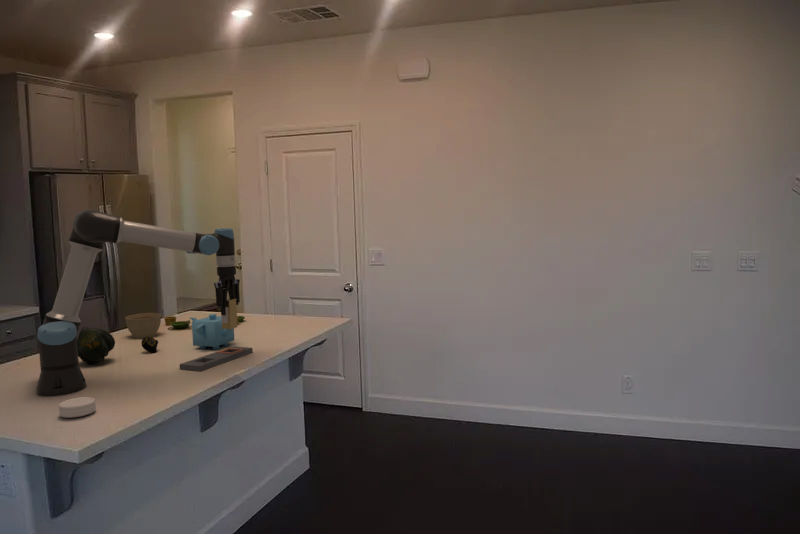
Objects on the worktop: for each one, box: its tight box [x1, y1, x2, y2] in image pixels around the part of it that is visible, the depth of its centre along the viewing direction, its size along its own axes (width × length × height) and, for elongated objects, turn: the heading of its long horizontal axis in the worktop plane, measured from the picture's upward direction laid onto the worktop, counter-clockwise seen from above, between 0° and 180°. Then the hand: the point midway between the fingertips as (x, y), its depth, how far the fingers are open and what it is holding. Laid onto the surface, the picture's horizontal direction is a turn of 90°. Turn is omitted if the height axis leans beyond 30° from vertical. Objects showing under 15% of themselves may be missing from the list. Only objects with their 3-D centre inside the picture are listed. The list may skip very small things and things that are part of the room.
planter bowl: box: [124, 312, 162, 340], centre depth 296 cm, size 16×16×11 cm
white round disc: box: [58, 396, 97, 419], centre depth 185 cm, size 10×10×4 cm
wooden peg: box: [220, 297, 238, 329], centre depth 252 cm, size 4×4×12 cm
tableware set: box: [164, 315, 246, 332], centre depth 323 cm, size 41×28×6 cm
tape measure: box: [140, 336, 159, 354], centre depth 264 cm, size 7×7×4 cm
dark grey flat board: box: [179, 345, 254, 372], centre depth 246 cm, size 32×10×2 cm, turn 156°
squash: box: [77, 326, 116, 365], centre depth 246 cm, size 14×15×15 cm
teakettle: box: [189, 313, 235, 351], centre depth 272 cm, size 19×19×15 cm
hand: (229, 321), depth 252 cm, fingers closed on wooden peg, 4 cm apart
